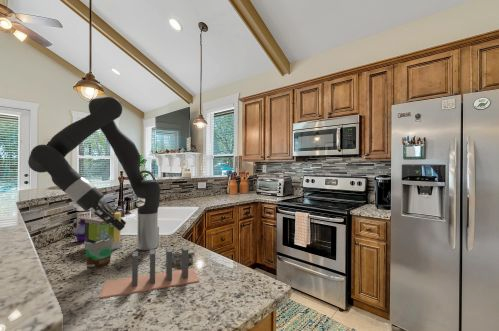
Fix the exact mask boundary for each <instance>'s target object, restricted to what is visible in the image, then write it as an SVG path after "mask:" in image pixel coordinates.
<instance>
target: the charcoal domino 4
mask: <svg viewBox="0 0 499 331" xmlns="http://www.w3.org/2000/svg"><path fill="white" fill-rule="evenodd" d="M181 253H182V267H181V270H182V276H183V279H185V278H188V269H189V264H188V254H189V248H188V246H187V245H182V246H181Z"/></svg>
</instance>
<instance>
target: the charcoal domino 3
mask: <svg viewBox="0 0 499 331" xmlns="http://www.w3.org/2000/svg"><path fill="white" fill-rule="evenodd" d="M165 251H166V252H165V258H166V259H165V260H166V261H165V262H166V263H165V269H166V270H165V272H166V278H167V281H172V271H173V263H172V253H173V250H172V247H166V250H165Z"/></svg>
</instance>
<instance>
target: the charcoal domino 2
mask: <svg viewBox="0 0 499 331" xmlns="http://www.w3.org/2000/svg"><path fill="white" fill-rule="evenodd" d="M155 273H156V248H155V249H151V250H149V274H150V284H154V283H155Z"/></svg>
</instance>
